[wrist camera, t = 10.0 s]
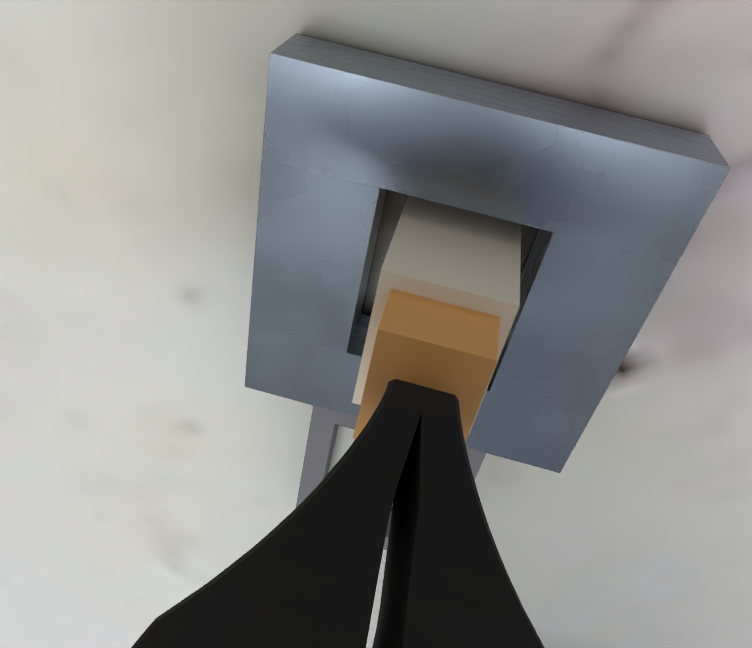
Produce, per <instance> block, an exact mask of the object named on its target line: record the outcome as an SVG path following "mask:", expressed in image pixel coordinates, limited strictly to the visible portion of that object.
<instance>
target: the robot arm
mask: <svg viewBox="0 0 752 648" xmlns="http://www.w3.org/2000/svg"><path fill="white" fill-rule="evenodd" d="M392 503H393V506H392ZM391 506H392V514H391V522H390V530H389V538H388V546H387V555H386V563H385V571H384V579H383V587H382V596H381V604H380V610H379V616H378V622H377V628H376V633H375V638H374V643H373V647H372V648H544V646H543V644H542V642H541V640H540V638H539V636H538V635H537V633H536V631H535V629H534V627H533V625H532V623H531V621H530V620H529V618H528V616H527V614H526V612H525V610H524V608H523V606H522V604H521V602H520V600H519V598H518V596H517V593H516V591H515V589H514V587H513V585H512V583H511V581H510V578H509V576H508V574H507V571H506V569H505V567H504V564H503V562H502V560H501V557H500V555H499V552H498V550H497V547H496V545H495V542H494V539H493V537H492V534H491V531H490V529H489V526H488V523H487V520H486V517H485V514H484V511H483V508H482V505H481V502H480V498H479V495H478V492H477V488H476V485H475V481H474V477H473V474H472V470H471V466H470V462H469V458H468V454H467V449H466V445H465V440H464V435H463V429H462V423H461V416H460V407H459V400H458V398H457V397H456V395H454V394H450V393H447V392H443V391H439V390H435V389H432V388H428V387H424V386H421V385H417V384H413V383H410V382H406V381H402V380H398V379H394V380H391V381H389V382H388V385H387V388H386V391H385V393H384V395H383V397H382V399H381V401H380V403H379V405H378V406H377V408H376V410H375V411H374V413H373V415H372V416H371V418H370V419H369V421H368V423H367V424H366V426H365V427H364V428H363V430H362V431H361V433H360V434H359V435H358V437H357V438H356V439H355V441H354V442H353V444H352V445H351V446H350V448H349V449H348V450H347V452H346V453H345V454H344V455H343V457H342V458H341V459H340V460H339V461H338V463H337V464H336V465H335V466H334V467H333V468H332V470H331V471H330V472H329V473H328V474H327V476H326V477H325V478H324V479H323V480H322V481H321V483H320V484H319V485H318V486H317V487H316V488H315V489H314V490H313V491H312V492H311V493H310V494H309V495H308V496H307V498H306V499H305V500H304V501H303V502H302V503H301V504H300V505H299V506H298V507H297V508H296V509H295V510H294V511H293V512H292V513H291V514H290V515H288V516H287V517H286V518H285V519H284V520H283V521H282V522H281V523H280V524H279V525H278V526H277V527H275V528H274V529H273V530H272V531H271V532H270V533H269V534H268V535H267V536H266V537H264V538H263V539H262V540H261V541H260V542H259V543H258V544H256V545H255V546H254V547H253V548H252V549H250V550H249V551H248V552H247V553H245V554H244V555H243V556H242V557H240V558H239V559H238V560H236V561H235V562H234V563H233V564H231V565H230V566H229V567H228V568H226V569H225V570H224V571H222V572H221V573H220V574H219V575H217V576H216V577H215V578H214V579H212V580H211V581H209V582H208V583H207V584H205V585H204V586H203V587H201V588H200V589H198V590H197V591H195V592H194V593H192V594H191V595H189V596H188V597H187V598H185V599H184V600H182V601H181V602H179V603H178V604H176V605H175V606H173V607H172V608H170V609H169V610H167V611H166V612H165V613H163V614H162V615H160V616H159V617H157V618H156V619H155V620H154V621H153V622H152V624H151V625H150V626H149V627H148V628H147V629H146V631H145V632H144V633H143V634H142V635H141V636H140V638H139V639H138V640H137V641H136V643H135V644H134V645H133V646H132V648H366V643H367V637H368V631H369V625H370V619H371V614H372V608H373V602H374V596H375V591H376V585H377V580H378V574H379V569H380V563H381V558H382V553H383V547H384V542H385V537H386V532H387V526H388V521H389V516H390V511H391Z"/></svg>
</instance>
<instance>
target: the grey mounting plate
mask: <svg viewBox="0 0 752 648" xmlns="http://www.w3.org/2000/svg"><path fill="white" fill-rule="evenodd" d="M357 418H358V417H354V416H350V415H347V414H343V413H340V412H336V411H332V410H329V409H325V408H321V407H318V406H314V405H313V411H312V417H311V423H310V429H309V435H308V440H307V446H306V452H305V458H304V464H303V470H302V475H301V481H300V487H299V493H298V499H297V505H296V508H297V507H298V506H299V505H300V504H301V503H302V502H303V501H304V500H305V499H306V498H307V496H308V495H309V494H310V493H311V492H312V491H313V490H314V489H315V488H316V487H317V486H318V485H319V484H320V483H321V481H322V480H323V479H324V478H325V477H326V476H327V473H328V469H329V464H330V459H331V454H332V450H333V445H334V440H335V435H336V431H337V426H338V425H340V426H344V427H348V428H351V429H355V427H356V422H357ZM466 449H467V454H468V458H469V462H470V466H471V470H472V474H473V477H474V480H475V477H476V475H477V473H478V470H479V468H480V466H481V463H482V461H483V459H484V457H485V454H486V453H485V452H482V451H478V450H474V449H471V448H467V447H466ZM391 514H392V511H390V516H389V521H388V526H387V532H386V537H385V542H384V547H383V549H385V550H387V546H388V538H389V530H390V522H391Z"/></svg>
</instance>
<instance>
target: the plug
mask: <svg viewBox="0 0 752 648" xmlns="http://www.w3.org/2000/svg"><path fill="white" fill-rule="evenodd" d="M520 266H521V224H519V223H515V222H511V221H507V220H503V219H499V218H496V217H492V216H488V215H484V214H480V213H476V212H472V211H468V210H464V209H461V208H457V207H453V206H449V205H445V204H441V203H437V202H433V201H429V200H426V199H422V198H418V197H414V196H410V195H408V197H407V200H406V202H405V205H404V208H403V211H402V213H401V216H400V219H399V222H398V224H397V227H396V230H395V232H394V235H393V238H392V241H391V243H390V246H389V249H388V252H387V254H386V257H385V260H384V263H383V265H382V268H381V272H380V276H379V281H378V286H377V290H376V295H375V299H374V304H373V308H372V313H371V318H370V322H369V327H368V331H367V336H366V341H365V345H364V350H363V354H362V359H361V364H360V368H359V373H358V377H357V382H356V387H355V391H354V396H353V400H352V403H355V404H359V405H360V409H359V414H358V418H357V422H356V427H355V431H354V435H353V439H356V438H357V437H358V435H359V434H360V433H361V431H362V430H363V428H364V427H365V426H366V424H367V423H368V421H369V419H370V418H371V416H372V415H373V413H374V411H375V410H376V408H377V406H378V405H379V403H380V401H381V399H382V397H383V395H384V393H385V391H386V388H387V385H388V382H389V381H391V380H394V379H398V380H402V381H406V382H410V383H413V384H417V385H421V386H424V387H428V388H432V389H435V390H439V391H443V392H447V393H450V394H454V395H456V397H457V398H458V400H459V407H460V416H461V423H462V429H463V435H464V440H465V442H466V439H467V437H468V434H469V433H470V431H471V428H472V426H473V423H474V421H475V418H476V416H477V413H478V411H479V408H480V405H481V403H482V400H483V398H484V395H485V393H486V390H487V388H488V385H489V383H490V380H491V377H492V375H493V372H494V370H495V367H496V365H497V362H498V360H499V357H500V355H501V352H502V349H503V347H504V344H505V342H506V339H507V337H508V334H509V332H510V329H511V327H512V324H513V321H514V319H515V316H516V314H517V311H518V309H519V306H520Z"/></svg>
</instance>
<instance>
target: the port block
mask: <svg viewBox="0 0 752 648" xmlns="http://www.w3.org/2000/svg"><path fill="white" fill-rule="evenodd" d="M729 169H730V167H729V165H728V164H727V162H726V161H725V159H724V158H723V156H722V155H721V153H720V152H719V150H718V149H717V147H716V146H715V144H714V143H713V141H712V140H711V138H710V137H709V135H705V134H701V133H697V132H693V131H689V130H685V129H681V128H677V127H673V126H669V125H665V124H660V123H656V122H652V121H648V120H644V119H640V118H636V117H632V116H628V115H624V114H620V113H616V112H612V111H608V110H604V109H600V108H596V107H592V106H588V105H584V104H580V103H576V102H571V101H567V100H563V99H559V98H555V97H551V96H547V95H543V94H539V93H535V92H531V91H527V90H523V89H519V88H515V87H511V86H507V85H503V84H499V83H495V82H491V81H487V80H483V79H478V78H474V77H470V76H466V75H462V74H458V73H454V72H450V71H446V70H442V69H438V68H434V67H430V66H426V65H422V64H418V63H414V62H410V61H406V60H402V59H398V58H394V57H390V56H385V55H381V54H377V53H373V52H369V51H365V50H361V49H357V48H353V47H349V46H345V45H341V44H337V43H333V42H329V41H325V40H321V39H317V38H313V37H309V36H305V35H301V34H296V35H294V36H293V37H292V38H290V39H289V40H287V41H286V42H285V43H283V44H282V45H281V46H279V47H278V48H276V49H275V50H274V51H272V52H271V53H270V60H269V73H268V86H267V99H266V113H265V126H264V139H263V152H262V165H261V179H260V192H259V205H258V218H257V231H256V245H255V258H254V271H253V284H252V297H251V311H250V324H249V337H248V350H247V363H246V377H245V387H248V388H252V389H256V390H259V391H263V392H267V393H270V394H274V395H278V396H281V397H285V398H289V399H292V400H296V401H299V402H303V403H307V404H310V405H314V406H318V407H321V408H325V409H329V410H332V411H336V412H340V413H343V414H347V415H350V416H354V417H358V414H359V409H360V405H359V404H355V403H352V400H353V396H354V391H355V387H356V382H357V377H358V373H359V368H360V364H361V359H362V354H363V350H364V345H365V341H366V336H367V331H368V327H369V322H370V318H371V316H369V315H365V314H361V311H362V307H363V302H364V297H365V292H366V288H367V283H368V278H369V273H370V269H371V264H372V259H373V254H374V250H375V245H376V240H377V235H378V230H379V226H380V221H381V216H382V211H383V207H384V202H385V197H386V192H387V190H391V191H394V192H398V193H402V194H406V195H410V196H414V197H418V198H422V199H426V200H429V201H433V202H437V203H441V204H445V205H449V206H453V207H457V208H461V209H464V210H468V211H472V212H476V213H480V214H484V215H488V216H492V217H496V218H499V219H503V220H507V221H511V222H515V223H519V224H523V225H527V226H531V227H534V228H538V229H539V230H538V232H537V235H536V238H535V240H534V243H533V245H532V248H531V251H530V253H529V256H528V258H527V261H526V264H525V266H524V269H523V271H522V274H521V277H520V306H519V309H518V311H517V314H516V316H515V319H514V321H513V324H512V327H511V329H510V332H509V334H508V337H507V339H506V342H505V344H504V347H503V349H502V352H501V355H500V357H499V360H498V362H497V365H496V367H495V370H494V372H493V375H492V377H491V380H490V383H489V385H488V388H487V390H486V393H485V395H484V398H483V400H482V403H481V405H480V408H479V411H478V413H477V416H476V418H475V421H474V423H473V426H472V428H471V431H470V433H469V434H468V437H467V439H466V442H465V445H466V447H467V448H471V449H474V450H478V451H482V452H485V453H489V454H493V455H496V456H500V457H504V458H507V459H511V460H514V461H518V462H522V463H525V464H529V465H533V466H536V467H540V468H544V469H547V470H551V471H555V472H558V473H560V472H561V470H562V468H563V466H564V465H565V463H566V461H567V459H568V457H569V456H570V454H571V452H572V450H573V449H574V447H575V445H576V443H577V441H578V440H579V438H580V436H581V434H582V432H583V431H584V429H585V427H586V425H587V423H588V422H589V420H590V418H591V416H592V415H593V413H594V411H595V409H596V407H597V406H598V404H599V402H600V400H601V398H602V397H603V395H604V393H605V391H606V389H607V388H608V386H609V384H610V382H611V380H612V379H613V377H614V375H615V373H616V372H617V370H618V368H619V366H620V364H621V363H622V361H623V359H624V357H625V355H626V354H627V352H628V350H629V348H630V346H631V345H632V343H633V341H634V339H635V338H636V336H637V334H638V332H639V330H640V329H641V327H642V325H643V323H644V321H645V320H646V318H647V316H648V314H649V312H650V311H651V309H652V307H653V305H654V304H655V302H656V300H657V298H658V296H659V295H660V293H661V291H662V289H663V287H664V286H665V284H666V282H667V280H668V278H669V277H670V275H671V273H672V271H673V270H674V268H675V266H676V264H677V262H678V261H679V259H680V257H681V255H682V253H683V252H684V250H685V248H686V246H687V244H688V243H689V241H690V239H691V237H692V236H693V234H694V232H695V230H696V228H697V227H698V225H699V223H700V221H701V219H702V218H703V216H704V214H705V212H706V210H707V209H708V207H709V205H710V203H711V202H712V200H713V198H714V196H715V194H716V193H717V191H718V189H719V187H720V185H721V184H722V182H723V180H724V178H725V176H726V175H727V173H728V171H729Z"/></svg>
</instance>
